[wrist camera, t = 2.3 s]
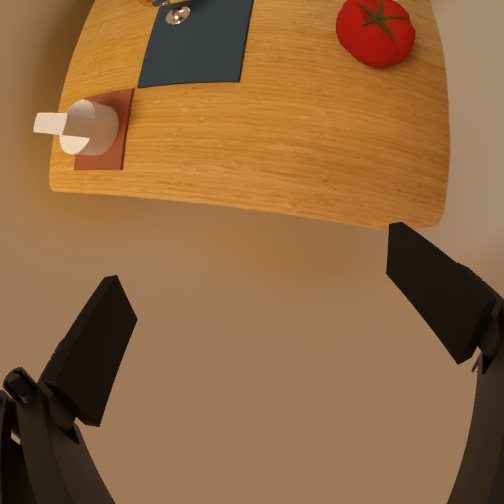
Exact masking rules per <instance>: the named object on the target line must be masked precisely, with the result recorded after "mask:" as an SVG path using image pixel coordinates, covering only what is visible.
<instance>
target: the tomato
mask: <svg viewBox="0 0 504 504" xmlns="http://www.w3.org/2000/svg"><path fill="white" fill-rule="evenodd" d="M336 34H337V36H338V39H339V41H340V43H341V45H342V46H343V47H345V48H346V49H347V50H348V51H349V52H350V53H351V54H352V55H353V56H354V57H355V58H356V59H357V60H359V61H361V62H363V63H365V64H367V65H372V66H376V67H382V66H385V65H388V64H393V63H400V62H401V61H402V60H404V59H405V57H406V56H407V55H408V54H409V53H410V51H411V49H412V47H413V44H414V40H415V30H414V28H413V27H412V25H411V24H410V17H409V14H408V13H407V12H406V11H405V10H404V8H403V7H402V6H401V5H400V4H398V3H396V2H394V1H392V0H347V1H346V2H345V3H344V4H343V7H342V10H341V11H340V12H339V13H338V17H337V21H336Z"/></svg>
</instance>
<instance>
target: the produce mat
mask: <svg viewBox="0 0 504 504" xmlns="http://www.w3.org/2000/svg"><path fill="white" fill-rule="evenodd" d="M133 91H134V89H127V90H122V91H116V92H111V93H106V94H101V95H97V96H92V97H88V98H84V100H87V101H91V102H95V103H98V104H102V105H105V106H108V107H111V108H113V109H114V110H115V112H116V113H117V116H118V120H119V127H118V133H117V136H116V138H115V141H114V142H113V144H112V146H111V147H110V148H109V149H108V150H107V151H106V152H104V153H103V154H101V155H76V154H75V165H74V170H122V164H123V155H124V146H125V138H126V131H127V124H128V118H129V112H130V106H131V101H132V96H133Z"/></svg>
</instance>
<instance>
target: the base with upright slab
mask: <svg viewBox="0 0 504 504" xmlns="http://www.w3.org/2000/svg"><path fill="white" fill-rule="evenodd" d="M118 127H119V120H118V116H117V113H116V112H115V110H114V109H113V108H111V107H108V106H105V105H102V104H98V103H95V102H91V101H87V100H80V101H78V102H76V103H74V104H73V105H72V106H71V107H70V108H69V109H68V111H67V112H66V113H38V114H37V117H36V120H35V124H34V129H33V131H34V132H41V133H49V134H57V135H60V144H61V146H62V149H63V150H64V151H65V152H66V153H68V154H76V155H101V154H103V153H104V152H106V151H107V150H108V149H109V148H110V147H111V146H112V144H113V142H114V141H115V138H116V136H117V133H118Z"/></svg>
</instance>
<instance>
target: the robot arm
mask: <svg viewBox="0 0 504 504" xmlns="http://www.w3.org/2000/svg"><path fill="white" fill-rule="evenodd" d="M386 270H387V271H386V274H387V275H388V277H389V278H390V279H391V280H392V281H393V282H394V283H395V285H396V286H397V287H398V288H399V289H400V290H401V292H402V293H403V294H404V295H405V296H406V297H407V299H408V300H409V301H410V302H411V303H412V305H413V306H414V307H415V309H416V310H417V311H418V312H419V314H420V315H421V316H422V317H423V319H424V320H425V321H426V322H427V324H428V325H429V326H430V327H431V329H432V330H433V331H434V333H435V334H436V335H437V337H438V338H439V339H440V341H441V342H442V344H443V345H444V346H445V347H446V349H447V350H448V352H449V353H450V355H451V356H452V357H453V359H454V360H455V361H456V363H457V364H458V365H459V364H460V363H463V362H464V361H466V360H468V359H470V358H471V357H472V355H473V353H474V352H475V350H476V348H477V346H478V347H479V348H480V350H481V353H480V354H479V356H478V358H477V360H476V362H475V364H474V366H473V368H472V372H474V370H475V369H476V367H477V366H478V371H477V373H478V374H477V385H476V394H475V401H474V408H473V414H472V420H471V426H470V430H469V435H468V440H467V443H466V448H465V451H464V455H463V459H462V462H461V465H460V469H459V472H458V475H457V478H456V481H455V484H454V487H453V489H452V492H451V494H450V497H449V499H448V502H447V504H504V299H503V298H502V297H501V296H500V295H499V294H498V293H497V292H495V291H494V290H493V289H492V288H491V287H490V286H489V285H488V284H487V283H485V282H484V281H482V279H481V278H480V277H479V276H476V274H475V273H474V272H473V271H472V270H470V269H469V268H468V267H466V266H464V265H462V264H460V263H456V262H455V261H454V260H452V259H451V258H450V257H448V256H447V255H446V254H445V253H444V252H442V251H441V250H440V249H438V248H437V247H436V246H434V245H433V244H432V243H430V242H429V241H428V240H427V239H425V238H424V237H422V236H421V235H420V234H418V233H417V232H415V231H414V230H413V229H411V228H410V227H409V226H407V225H406V224H404V223H403V222H398V223H392V224H389V238H388V257H387V269H386ZM137 320H138V319H137V317H136V315H135V313H134V311H133V309H132V307H131V305H130V303H129V301H128V299H127V296H126V294H125V292H124V290H123V288H122V285H121V283H120V281H119V279H118V276H117V275H114V276H109V277H105V278H104V279H103V280H102V282H101V283H100V284H99V286H98V287H97V289H96V290H95V292H94V293H93V295H92V296H91V297H90V299H89V300H88V302H87V303H86V305H85V306H84V308H83V309H82V311H81V313H80V314H79V315H78V317H77V319H76V320H75V322H74V323H73V325H72V326H71V328H70V330H69V331H68V333H67V335H66V336H65V338H64V339H63V340H62V341H61V342H60V343H59V344H58V346H57V348H56V349H55V353H53V355H52V356H51V360H49V362H48V363H47V365H46V367H45V369H44V371H43V373H42V374H41V376H40V379H39V380H38V382H37V384H36V383H35V381H34V380H33V379H32V378H31V377H30V376H29V374H28V373H27V372H26V371H25V370H24V369H23V368H22V367H18V368H15V369H13V370H12V371H11V372H9V374H8V375H7V376H6V378H5V380H4V382H3V388H4V389H5V390H6V391H7V392H8V393H9V395H10V396H11V397H12V398H10V396H9V395H8V394H7V393H6V392H5V391H3V390H0V504H115V502H114V500H113V498H112V497H111V495H110V493H109V492H108V490H107V488H106V486H105V485H104V482H103V481H102V479H101V477H100V475H99V473H98V471H97V469H96V467H95V465H94V463H93V460H92V458H91V456H90V454H89V451H88V449H87V447H86V444H85V442H84V440H83V437H82V435H81V432H80V429H79V427H78V426H77V425H76V424H75V423H74V421H75V418H76V417H77V418H78V419H79V420H80V421H81V422H83V423H84V424H85V425H90V426H96V427H100V424H101V420H102V417H103V414H104V410H105V407H106V404H107V401H108V398H109V395H110V392H111V389H112V386H113V383H114V380H115V377H116V375H117V372H118V369H119V366H120V363H121V361H122V358H123V355H124V353H125V350H126V347H127V345H128V342H129V340H130V337H131V335H132V332H133V330H134V327H135V325H136V322H137ZM11 432H12V433H13V434H14V435H15V436H17V437H18V438H19V439H20V444H18V443H16V442H15V441H14V440H13V439H12V438H11Z"/></svg>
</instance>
